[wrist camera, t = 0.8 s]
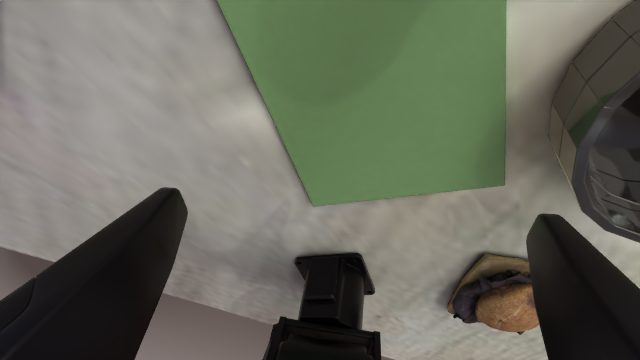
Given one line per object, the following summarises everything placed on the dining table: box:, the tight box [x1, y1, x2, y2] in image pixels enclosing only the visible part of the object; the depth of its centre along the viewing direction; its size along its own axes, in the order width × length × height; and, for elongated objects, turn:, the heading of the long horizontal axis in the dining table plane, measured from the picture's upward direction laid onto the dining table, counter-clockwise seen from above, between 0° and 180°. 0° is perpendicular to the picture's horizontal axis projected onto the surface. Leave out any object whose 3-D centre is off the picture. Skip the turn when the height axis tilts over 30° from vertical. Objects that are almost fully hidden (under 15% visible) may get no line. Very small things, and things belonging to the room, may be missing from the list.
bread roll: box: [448, 253, 539, 335], centre depth 34 cm, size 11×8×4 cm
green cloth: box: [217, 0, 506, 206], centre depth 22 cm, size 20×14×1 cm
